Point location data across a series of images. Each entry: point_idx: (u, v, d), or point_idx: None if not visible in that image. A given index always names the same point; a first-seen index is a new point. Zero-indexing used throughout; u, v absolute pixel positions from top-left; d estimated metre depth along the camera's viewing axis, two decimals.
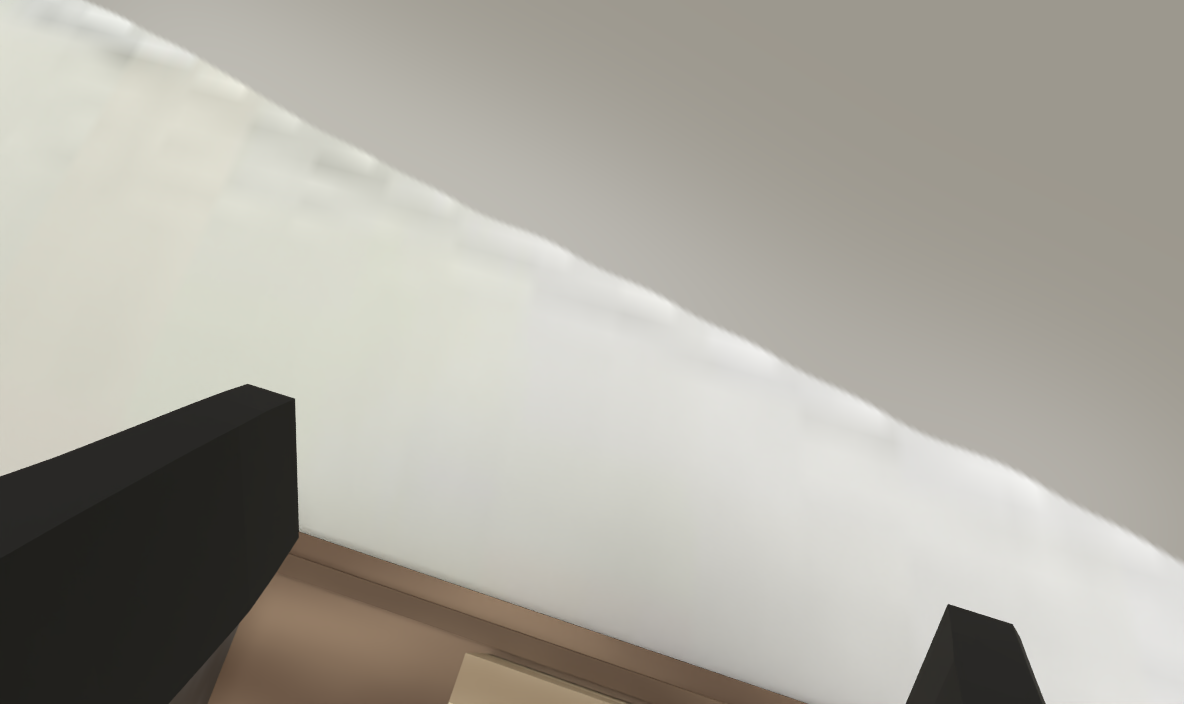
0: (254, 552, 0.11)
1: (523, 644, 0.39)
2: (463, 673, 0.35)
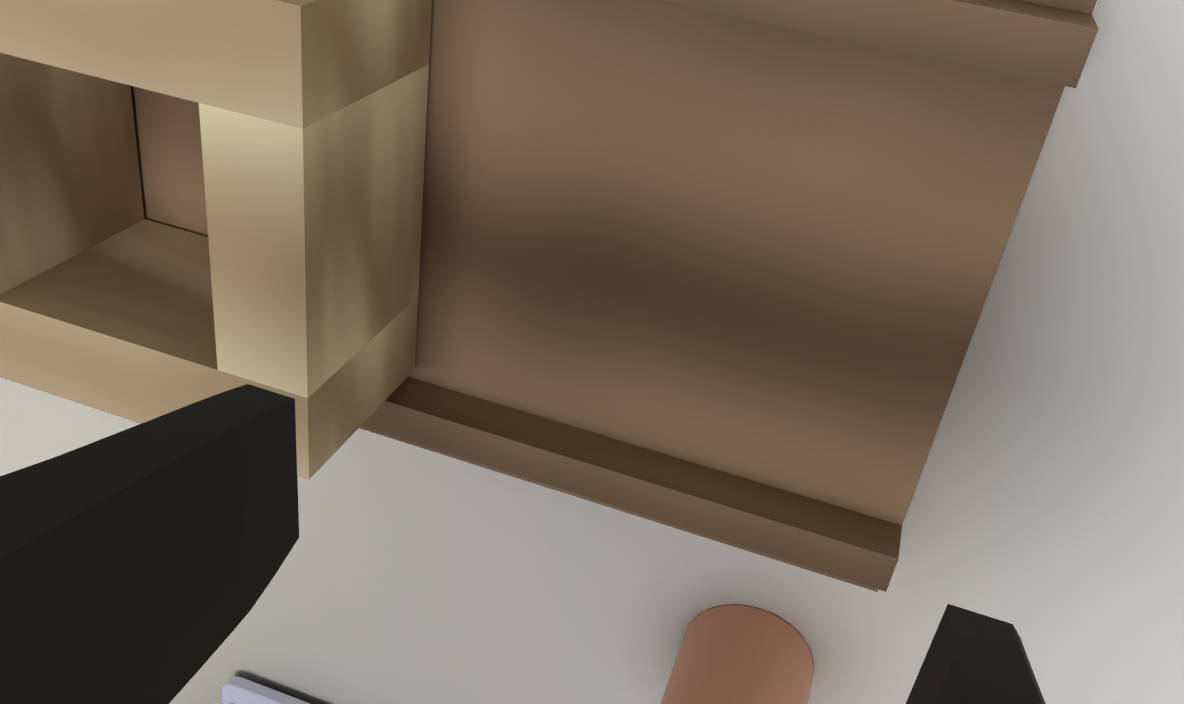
0: (254, 552, 0.11)
1: None
2: None
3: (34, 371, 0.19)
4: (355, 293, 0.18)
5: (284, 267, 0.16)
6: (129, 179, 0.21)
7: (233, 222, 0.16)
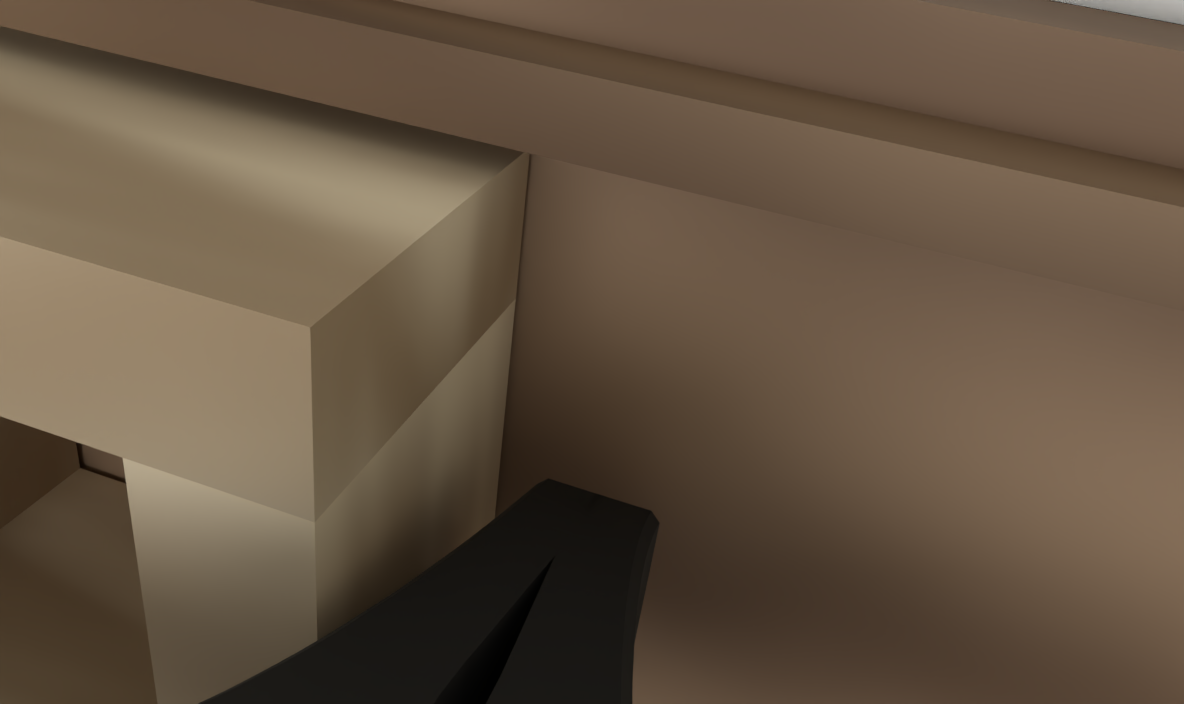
0: None
1: None
2: None
3: None
4: None
5: None
6: None
7: (192, 636, 0.09)
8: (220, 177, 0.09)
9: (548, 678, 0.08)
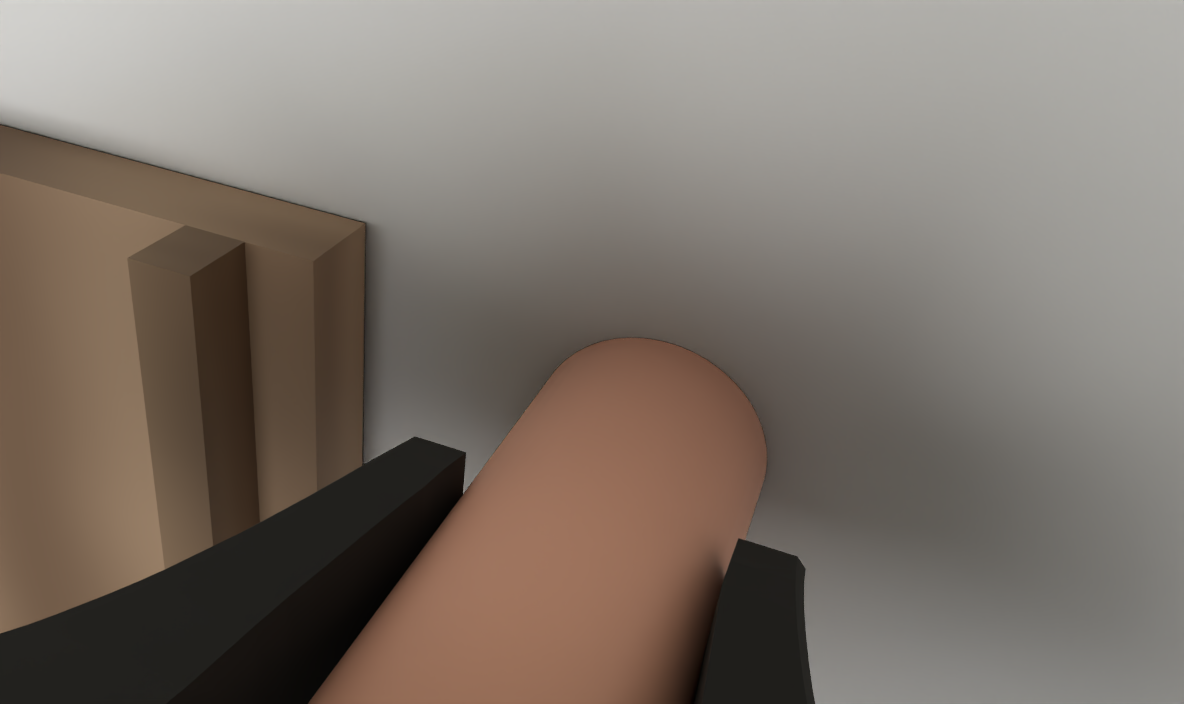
0: None
1: None
2: None
3: None
4: None
5: None
6: None
7: None
8: None
9: None
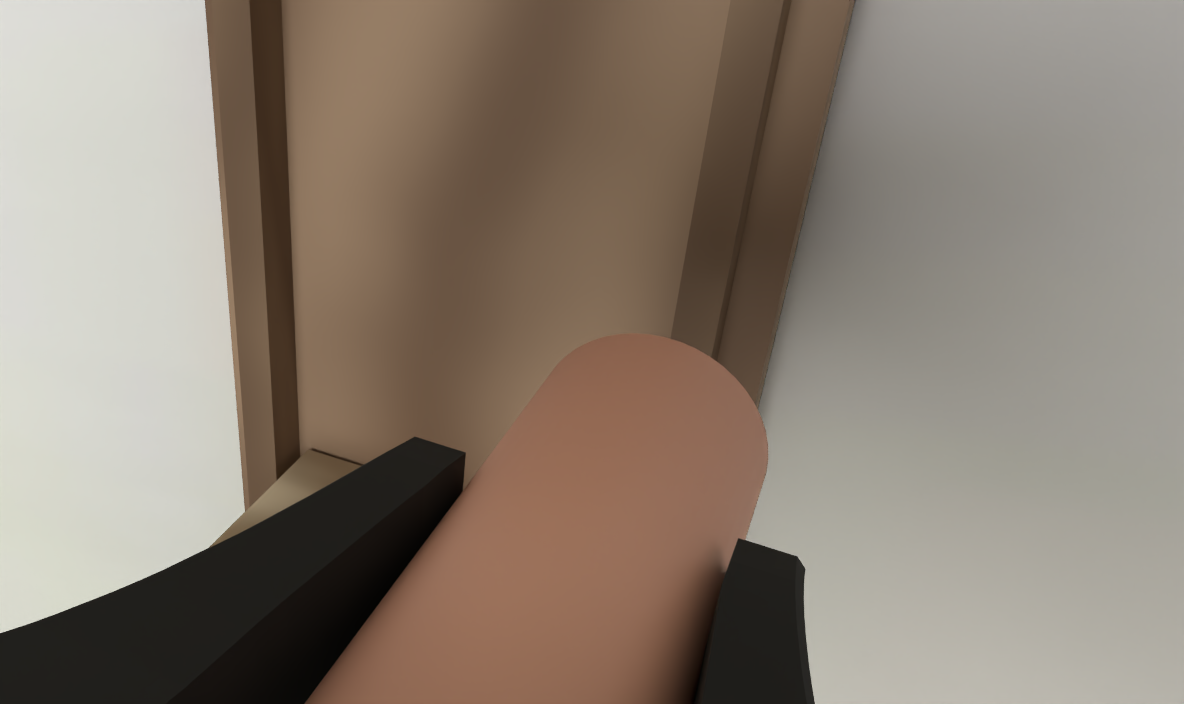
0: None
1: (250, 340, 0.22)
2: None
3: None
4: None
5: None
6: None
7: None
8: None
9: None
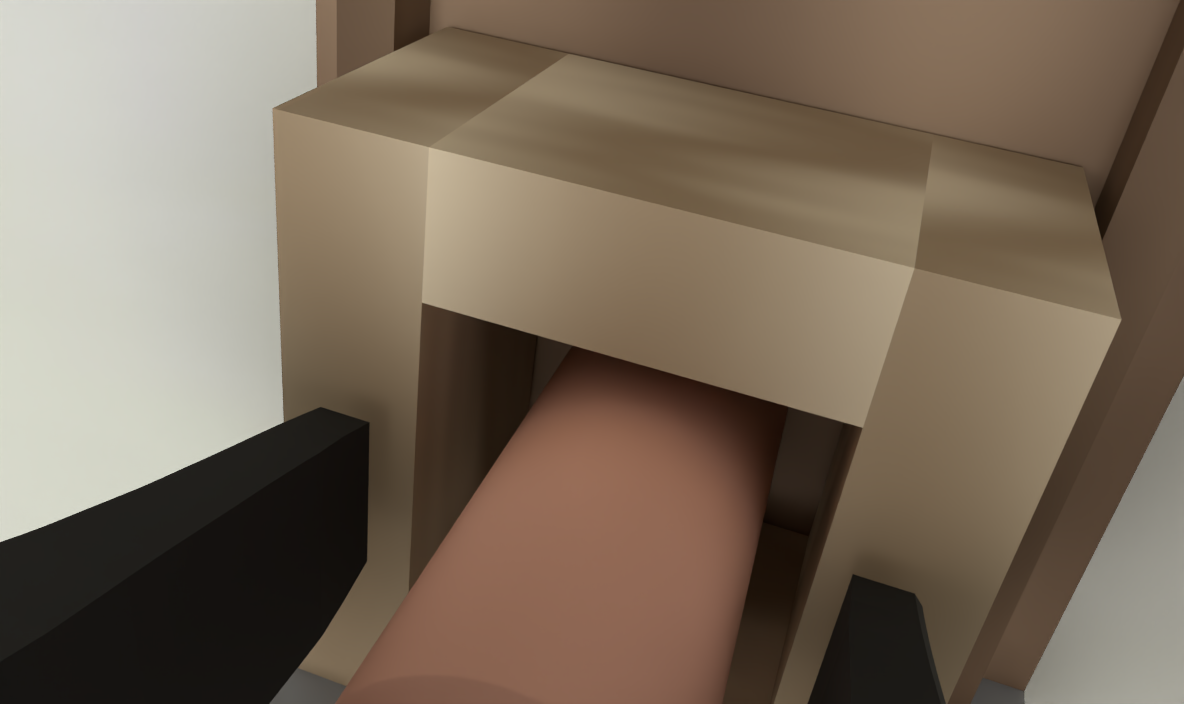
0: (327, 578, 0.11)
1: None
2: (333, 675, 0.14)
3: None
4: (800, 178, 0.10)
5: (652, 239, 0.10)
6: None
7: (587, 306, 0.10)
8: None
9: None
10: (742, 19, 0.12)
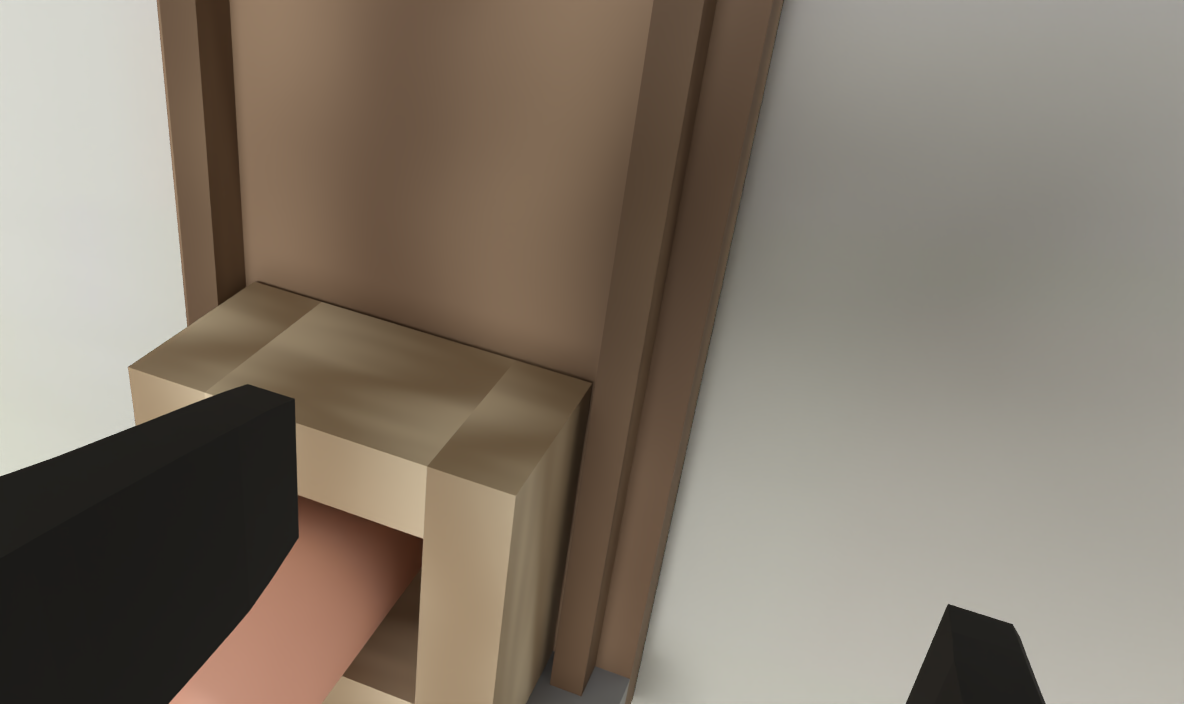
0: (254, 552, 0.11)
1: (186, 144, 0.21)
2: None
3: None
4: (406, 403, 0.20)
5: (312, 443, 0.19)
6: None
7: None
8: None
9: None
10: (411, 292, 0.22)
